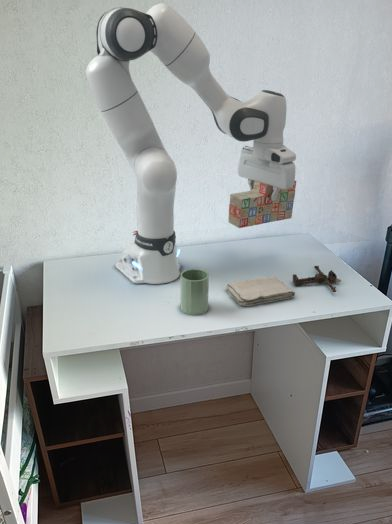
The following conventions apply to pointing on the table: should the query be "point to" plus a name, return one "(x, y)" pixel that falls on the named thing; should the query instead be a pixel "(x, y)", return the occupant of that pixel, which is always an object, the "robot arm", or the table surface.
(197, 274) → the pencil cup
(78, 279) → the table surface
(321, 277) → the brown toy monkey
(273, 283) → the washcloth
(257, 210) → the stack of blocks
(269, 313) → the table surface
